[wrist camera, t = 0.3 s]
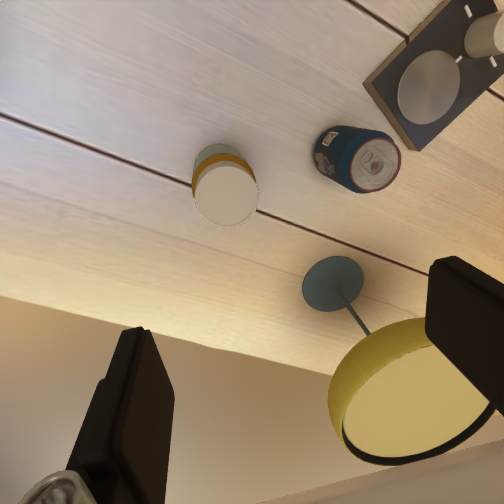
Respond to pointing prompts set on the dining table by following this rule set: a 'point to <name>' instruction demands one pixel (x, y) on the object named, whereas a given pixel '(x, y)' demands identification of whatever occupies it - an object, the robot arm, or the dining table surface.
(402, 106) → the burner ring
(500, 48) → the hob knob
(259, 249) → the dining table surface
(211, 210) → the bottle
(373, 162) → the soda can
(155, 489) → the robot arm
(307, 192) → the dining table surface
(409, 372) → the cocktail glass
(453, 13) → the hob
